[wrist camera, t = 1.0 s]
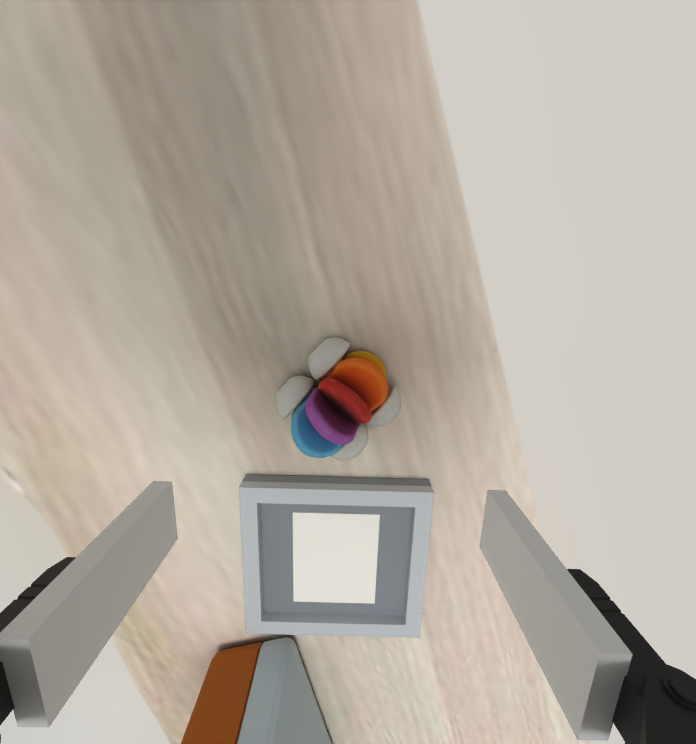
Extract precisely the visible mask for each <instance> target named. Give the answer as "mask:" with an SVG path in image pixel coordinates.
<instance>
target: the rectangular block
mask: <svg viewBox="0 0 696 744" xmlns="http://www.w3.org/2000/svg"><path fill="white" fill-rule="evenodd" d="M181 744H331V741H330V738H329V735H328V732H327V730H326V727H325V724H324V721H323V719H322V716H321V713H320V710H319V707H318V705H317V702H316V699H315V696H314V694H313V691H312V688H311V685H310V682H309V680H308V677H307V674H306V671H305V669H304V666H303V663H302V660H301V658H300V655H299V652H298V649H297V646H296V644H295V642H294V641H293V640H292V639H290V638H287V637H285V638H280V639H275V640H270V641H265V642H264V643H263V642H260V643H255V644H250V645H245V646H240V647H235V648H230V649H225V650H221V651H220V652H218V653H217V654H216V655H215V656H214V658H213V659H212V661H211V664H210V666H209V669H208V672H207V675H206V677H205V680H204V683H203V685H202V688H201V691H200V694H199V696H198V699H197V702H196V704H195V707H194V710H193V713H192V715H191V718H190V721H189V723H188V726H187V729H186V731H185V734H184V737H183V740H182V742H181Z"/></svg>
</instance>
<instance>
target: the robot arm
mask: <svg viewBox="0 0 696 744" xmlns="http://www.w3.org/2000/svg"><path fill="white" fill-rule="evenodd" d="M177 539H178V536H177V526H176V517H175V507H174V497H173V487H172V482H167V481H153V482H152V483H151V484H150V485H149V486H148V487H147V488H146V489H145V490H144V491H143V492H142V493H141V494H140V495H139V496H138V497H137V498H136V499H135V500H134V501H133V502H132V503H131V504H130V505H129V506H128V507H127V508H126V509H125V510H124V511H123V512H122V513H121V514H120V515H119V516H118V517H117V518H116V519H115V520H114V521H113V522H112V523H111V524H110V525H109V526H108V527H107V528H106V529H105V530H104V531H103V532H102V533H100V534H99V535H98V536H97V537H96V538H95V539H94V540H93V541H92V542H91V543H90V544H89V545H88V546H87V547H86V548H85V549H84V550H83V551H82V552H81V553H80V554H79V555H78V556H77V557H66V558H65V559H63V560H62V561H60V562H59V563H57V564H55V565H54V566H52V567H51V568H49V569H47V570H46V571H45V572H44V573H43V574H42V575H41V576H40V577H39V578H37V579H36V580H35V581H34V582H33V583H32V584H31V587H28V588H27V589H26V590H25V591H24V592H22V593H21V594H20V595H19V596H18V599H17V600H14V601H13V602H12V603H11V604H10V605H8V606H7V607H6V608H5V609H4V610H3V611H2V612H1V613H0V725H1V724H2V722H3V721H4V720H5V719H6V717H7V716H8V715H9V713H10V712H11V711H12V710H14V714H15V718H16V721H17V725H18V727H50V725H51V724H52V722H53V721H54V719H55V718H56V716H57V715H58V713H59V712H60V710H61V709H62V707H63V706H64V705H65V703H66V702H67V700H68V699H69V697H70V696H71V694H72V693H73V691H74V690H75V688H76V687H77V686H78V684H79V682H80V681H81V680H82V678H83V677H84V675H85V674H86V672H87V671H88V669H89V668H90V666H91V665H92V664H93V662H94V661H95V659H96V658H97V656H98V655H99V653H100V652H101V650H102V649H103V647H104V646H105V644H106V643H107V641H108V640H109V639H110V637H111V636H112V634H113V633H114V631H115V630H116V628H117V627H118V625H119V624H120V623H121V621H122V620H123V618H124V617H125V615H126V614H127V612H128V611H129V609H130V608H131V606H132V605H133V603H134V602H135V601H136V599H137V598H138V596H139V595H140V593H141V592H142V590H143V589H144V587H145V586H146V584H147V583H148V581H149V580H150V579H151V577H152V576H153V574H154V573H155V571H156V570H157V568H158V567H159V565H160V564H161V562H162V561H163V559H164V558H165V557H166V555H167V554H168V552H169V551H170V549H171V548H172V546H173V545H174V543H175V542H176V540H177ZM480 548H481V550H482V552H483V554H484V556H485V558H486V560H487V562H488V564H489V566H490V568H491V570H492V572H493V574H494V576H495V578H496V580H497V582H498V584H499V586H500V588H501V590H502V592H503V594H504V596H505V598H506V600H507V602H508V604H509V605H510V607H511V609H512V611H513V613H514V615H515V617H516V619H517V621H518V623H519V625H520V627H521V629H522V631H523V633H524V635H525V637H526V639H527V641H528V643H529V645H530V647H531V649H532V651H533V653H534V655H535V657H536V659H537V661H538V663H539V665H540V667H541V669H542V671H543V673H544V675H545V677H546V679H547V681H548V682H549V684H550V686H551V688H552V690H553V692H554V694H555V696H556V698H557V700H558V702H559V704H560V706H561V708H562V710H563V712H564V714H565V716H566V718H567V720H568V722H569V724H570V726H571V728H572V730H573V732H574V734H575V736H576V738H577V740H608V739H609V735H610V732H611V728H612V725H613V723H614V724H615V726H616V728H617V729H618V731H619V732H620V734H621V736H622V737H623V739H624V741H625V744H696V679H694V678H693V677H691V676H689V675H688V674H686V673H685V672H683V671H682V670H679V669H677V668H674V667H672V666H669V665H666V664H665V662H664V661H663V660H662V659H661V658H660V657H659V656H658V654H657V653H656V652H655V651H654V649H653V648H652V647H651V646H650V645H649V643H648V642H647V641H646V640H645V639H644V638H643V636H642V635H641V634H640V633H639V632H638V630H637V629H636V628H635V627H634V626H633V625H632V623H631V622H630V621H629V620H628V619H627V617H625V615H624V614H622V613H621V610H620V609H619V608H618V607H617V606H616V605H615V603H614V602H613V601H611V600H610V597H609V596H608V595H607V594H606V593H605V591H604V590H603V589H602V588H601V587H600V586H599V584H598V583H597V582H596V581H594V580H593V579H592V578H590V577H589V576H588V575H587V574H585V573H584V572H583V571H581V570H580V569H566V568H565V567H564V565H563V564H562V562H561V561H560V560H559V559H558V557H557V556H556V555H555V554H554V552H553V551H552V550H551V548H550V547H549V546H548V545H547V543H546V542H545V541H544V539H543V538H542V537H541V535H540V534H539V533H538V532H537V530H536V529H535V528H534V526H533V525H532V524H531V522H530V521H529V520H528V519H527V517H526V516H525V515H524V513H523V512H522V511H521V510H520V508H519V507H518V506H517V504H516V503H515V502H514V501H513V499H512V498H511V497H510V495H509V494H508V493H507V492H506V491H502V490H487V497H486V504H485V511H484V519H483V526H482V533H481V540H480ZM0 742H1V735H0Z"/></svg>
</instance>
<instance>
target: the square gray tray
mask: <svg viewBox="0 0 696 744" xmlns="http://www.w3.org/2000/svg"><path fill="white" fill-rule="evenodd" d="M239 496H240V516H241V536H242V556H243V576H244V597H245V617H246V633H248V634H287V635H327V636H367V637H407V638H420V630H421V620H422V610H423V599H424V589H425V579H426V569H427V559H428V548H429V538H430V528H431V518H432V508H433V497H434V492H433V489H432V487H431V484H430V482H429V480H428V479H403V478H366V477H330V476H293V475H257V474H246V476H245V478H244V479H243V481H242V483H241V485H240V487H239Z"/></svg>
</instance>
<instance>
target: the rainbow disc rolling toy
mask: <svg viewBox="0 0 696 744" xmlns="http://www.w3.org/2000/svg"><path fill="white" fill-rule="evenodd" d="M349 347H350V343H349V342H347V341H346V340H344V339H341V338H336V337H331V338H326V339H325V340H324V341H323V342H322V343H321V344H320V345H319V346H318V347H317V348H316V349H315V350H314V351H313V352H312V353H311V354H310V356H309V362H308V364H309V370H310V373H311V375H312V376H313V378H314V379H315V380H322V381H321V382H320V383H319V385H318V387H316V388H313V389H312V387H313V384H314V383H315V381H314V380H313V379H312V378H309V377H306V376H294V377H291V378H290V379H289V380H288V381H287V382H286V383H285V384H284V385H283V386H282V388H281V389H280V390H279V391H278V392H277V394H276V396H275V406H276V409H277V412H278V413H279V415H280V416H281V417H282V418H286V417H287V416H288V415H289V414H290V413H291V412H292V411H293V410H295V411H294V413H293V414H292V423H291V431H292V436H293V439H294V441H295V443H296V445H297V447H298V448H299V449H300V450H301V451H302V452H303V453H304V454H306V455H308V456H310V457H315V458H324V457H328V456H331V457H333V458H335V459H339V460H349V459H352V458H354V457H356V456H357V455H359V454H360V453H361V451H362V450H363V449H364V447H365V446H366V443H367V439H368V432H367V427H366V425H365V424H367V425H370V426H376V427H377V426H384V425H386V424H388V423H390V422H391V421H392V420H393V419H394V418H395V417H396V416H397V414H398V413H399V410H400V407H401V397H400V393H399V391H398V389H397V388H396V386H394V385H388V382H387V372H386V368H385V365H384V363H383V362H382V360H381V359H380V358H379V357H377V356H376V355H374V354H372V353H370V352H366V351H355V352H349V353H348V354H347V355H346V356H345V357H344V358H343V359H342V357H343V355H344V354H345V352H346V351H347V350H348V348H349ZM341 359H342V360H341Z"/></svg>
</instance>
